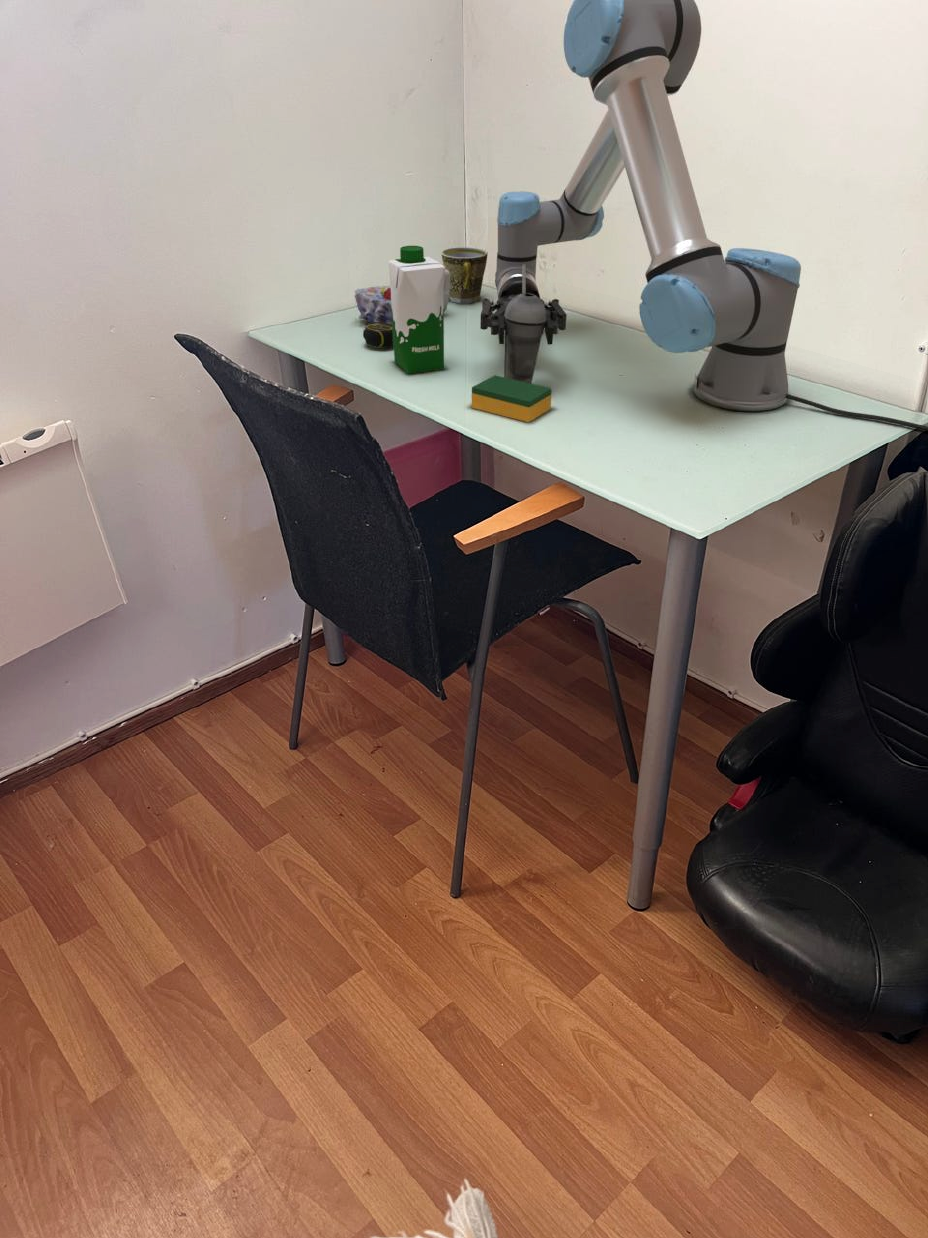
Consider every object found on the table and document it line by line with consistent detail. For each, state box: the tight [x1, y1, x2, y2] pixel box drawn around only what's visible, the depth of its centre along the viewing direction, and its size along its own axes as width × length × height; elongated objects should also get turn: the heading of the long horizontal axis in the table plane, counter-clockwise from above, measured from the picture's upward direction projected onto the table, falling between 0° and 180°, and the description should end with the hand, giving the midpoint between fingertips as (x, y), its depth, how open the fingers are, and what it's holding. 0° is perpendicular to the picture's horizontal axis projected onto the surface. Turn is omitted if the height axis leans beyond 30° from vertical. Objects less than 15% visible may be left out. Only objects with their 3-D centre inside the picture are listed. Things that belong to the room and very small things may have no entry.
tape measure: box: [362, 322, 393, 349], centre depth 176 cm, size 7×7×4 cm
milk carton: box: [388, 245, 445, 375], centre depth 161 cm, size 9×9×20 cm
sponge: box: [471, 375, 553, 423], centre depth 149 cm, size 11×7×4 cm, turn 55°
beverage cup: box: [503, 265, 547, 384], centre depth 152 cm, size 7×7×20 cm
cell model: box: [354, 269, 450, 325], centre depth 188 cm, size 13×11×20 cm
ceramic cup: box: [441, 246, 489, 305], centre depth 199 cm, size 13×10×10 cm
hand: (526, 335), depth 149 cm, fingers closed on beverage cup, 7 cm apart
